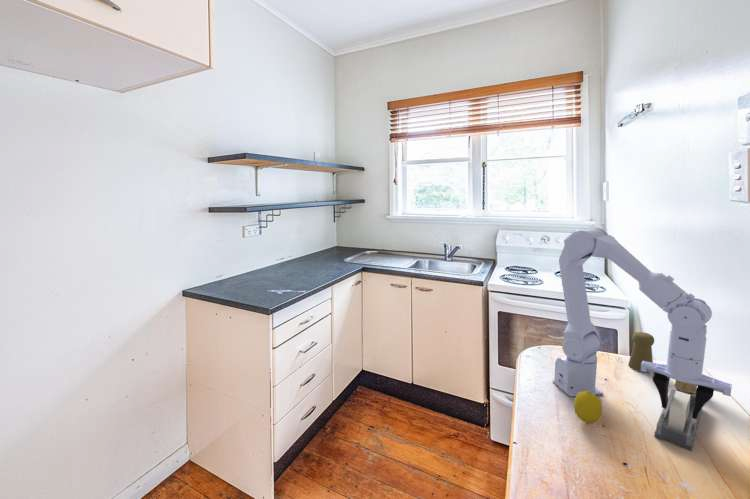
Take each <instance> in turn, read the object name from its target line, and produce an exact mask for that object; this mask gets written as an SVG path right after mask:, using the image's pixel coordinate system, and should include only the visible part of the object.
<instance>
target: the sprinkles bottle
mask: <svg viewBox="0 0 750 499" xmlns="http://www.w3.org/2000/svg"><path fill="white" fill-rule="evenodd" d="M674 382H675V383H674V388H675V389H676V390H679V391H682V392H686V393H689V394H696V390H697V387H698V386H696V385H693V384H689V383H685V382H681V381H678V380H675V381H674Z"/></svg>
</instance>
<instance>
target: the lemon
mask: <svg viewBox="0 0 750 499" xmlns="http://www.w3.org/2000/svg"><path fill="white" fill-rule="evenodd" d="M573 410H574V413H575V414H576V416H577V418H579V419H580V420H581V421H582V422H584V423H585V424H595V423H596V422H598V421H599V420H600V419H601V418H602V414H603V407H602V402H601V400H600V398H599V397H598V396H597V395H595V394H593V393H591V392H590V391H583V392H580V393H578V394H577V396H575V398H574V402H573Z"/></svg>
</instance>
